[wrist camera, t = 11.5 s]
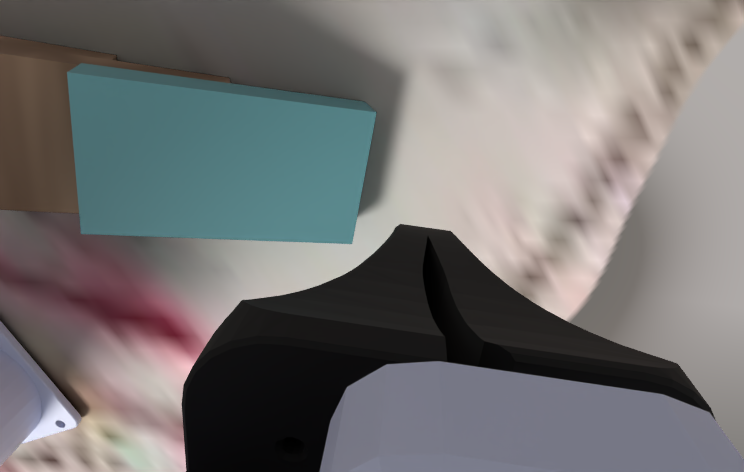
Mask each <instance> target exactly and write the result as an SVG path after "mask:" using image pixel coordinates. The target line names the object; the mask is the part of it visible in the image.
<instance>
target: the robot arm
mask: <svg viewBox="0 0 744 472" xmlns="http://www.w3.org/2000/svg"><path fill="white" fill-rule="evenodd" d="M182 414H183V428H184V442H185V456H186V470H187V471H186V472H744V459H743V457H742V456H741V455H740V453H739V452H738V451H737V449H736V448H735V447H734V445H733V444H732V442H731V441H730V440H729V438H728V437H727V436H726V434H725V433H724V432H723V430H722V429H721V427H719V425H718V423H717V422H716V420H715V418H714V415H713V413H712V411H711V408H710V407H709V405H708V404H707V403H706V401H705V400H704V399H703V397H702V396H701V394H700V393H699V392H698V390H697V389H696V388H695V386H694V385H693V384H692V382H691V381H690V380H689V378H688V377H687V376H686V374H685V373H684V372H683V370H682V369H681V368H680V366H679V365H678V364H676V363H674V362H671V361H668V360H665V359H662V358H659V357H656V356H653V355H650V354H646V353H643V352H641V351H637V350H635V349H631V348H629V347H625V346H622V345H620V344H617V343H614V342H612V341H610V340H607V339H605V338H603V337H600V336H598V335H595V334H593V333H590V332H588V331H586V330H583V329H582V328H580V327H577V326H575V325H573V324H571V323H569V322H567V321H565V320H563V319H561V318H560V317H558V316H556V315H554V314H552V313H550V312H548V311H546V310H545V309H543V308H541V307H540V306H538V305H536V304H535V303H533V302H532V301H530V300H529V299H527V298H526V297H524V296H523V295H521V294H520V293H518V292H517V291H515V290H514V289H513V288H511V287H510V286H509V285H507V284H506V283H505V282H503V281H502V280H501V279H500V278H499V277H497V276H496V275H495V274H494V273H493V272H491V271H490V270H489V269H488V268H487V267H486V266H485V265H484V264H483V263H482V262H481V261H480V260H479V259H478V258H477V257H476V256H474V255H473V253H472V252H471V251H470V250H469V249H468V248H467V247H466V246H465V245H464V244H463V243H462V242H461V241H460V240H459V239H458V238H457V237H456V236H455V235H454V234H453V233H452V232H451V231H446V230H439V229H432V228H425V227H418V226H410V225H403V224H400V225H398V226H397V227H396V228H395V230H394V231H393V233H392V234H391V236H390V237H389V238H388V239H387V240H386V242H385V243H384V244H383V245H382V246H381V247H380V248H379V249H378V250H377V251H376V252H375V253H374V254H372V255H371V256H370V257H369V258H368V259H366V260H365V261H364V262H363V263H361V264H360V265H359V266H357V267H356V268H355V269H353V270H352V271H350V272H348V273H346V274H344V275H342V276H340V277H338V278H336V279H333V280H331V281H329V282H326V283H324V284H321V285H319V286H316V287H313V288H310V289H306V290H303V291H299V292H295V293H291V294H286V295H281V296H274V297H266V298H259V299H251V300H242V301H241V302H240V303H239V304H238V305H237V307H236V308H235V309H234V310H233V311H232V313H231V314H230V315H229V316H228V317H227V318H226V319H225V320H224V322H223V323H222V324H221V325H220V326H219V328H218V329H217V330H216V331H215V333H214V334H213V336H212V337H211V339H210V340H209V342H208V343H207V345H206V346H205V348H204V350H203V351H202V353H201V354H200V356H199V358H198V359H197V361H196V362H195V364H194V365H193V367H192V369H191V371H190V373H189V375H188V377H187V379H186V381H185V383H184V388H183V397H182ZM80 422H81V416H80V414H79V413H78V412H77V411H76V409H75V408H74V407H73V406H72V405H71V403H70V402H69V401H68V400H67V399H66V398H65V396H64V395H63V394H62V393H61V392H60V391H59V389H58V388H57V387H56V386H55V385H54V383H53V382H52V381H51V380H50V379H49V378H48V376H47V375H46V374H45V373H44V372H43V370H42V369H41V368H40V367H39V366H38V365H37V363H36V362H35V361H34V360H33V359H32V357H31V356H30V355H29V354H28V353H27V352H26V350H25V349H24V348H23V347H22V346H21V345H20V343H19V342H18V341H17V340H16V339H15V337H14V336H13V335H12V334H11V333H10V332H9V330H8V329H7V328H6V327H5V326H4V324H3V323H2V322H1V321H0V466H1V465H2V464H3V463H4V462H5V461H6V460H7V459H8V457H9V456H10V455H11V454H12V453H13V452H14V451H15V450H16V449H17V448H18V447H19V445H20V444H23V443H26V442H30V441H33V440H36V439H39V438H43V437H46V436H49V435H53V434H56V433H59V432H63V431H66V430H69V429H73V428H75V427H77V426H78V424H79V423H80Z"/></svg>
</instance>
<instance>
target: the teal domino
mask: <svg viewBox="0 0 744 472" xmlns="http://www.w3.org/2000/svg"><path fill="white" fill-rule="evenodd" d="M67 78H68V89H69V101H70V113H71V124H72V136H73V147H74V159H75V171H76V182H77V194H78V205H79V217H80V229H81V234H95V235H122V236H149V237H177V238H204V239H231V240H258V241H286V242H313V243H340V244H352V241H353V236H354V231H355V225H356V220H357V215H358V209H359V204H360V198H361V193H362V188H363V182H364V177H365V172H366V166H367V161H368V156H369V150H370V145H371V140H372V134H373V129H374V123H375V118H376V113H377V112H376V111H374V110H373V109H372V108H371V107H370V106H369V105H368V104H367V103H366V102H364V101H356V100H349V99H342V98H334V97H327V96H320V95H312V94H305V93H298V92H290V91H283V90H276V89H268V88H261V87H254V86H246V85H239V84H232V83H224V82H217V81H210V80H202V79H195V78H187V77H180V76H173V75H165V74H158V73H151V72H143V71H136V70H129V69H121V68H114V67H107V66H99V65H92V64H85V63H81V64H79V65H78V66H76V67H74V68H73V69H71V70H70V71H68V72H67Z"/></svg>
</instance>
